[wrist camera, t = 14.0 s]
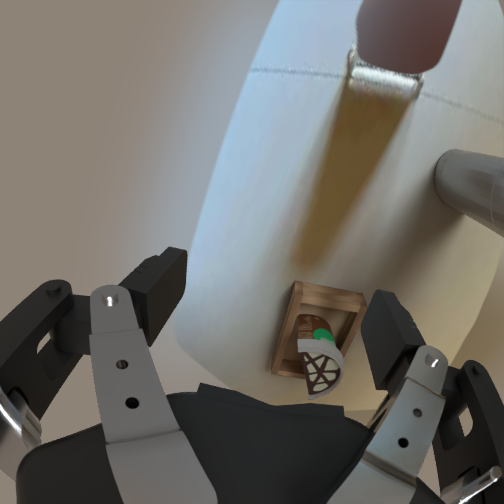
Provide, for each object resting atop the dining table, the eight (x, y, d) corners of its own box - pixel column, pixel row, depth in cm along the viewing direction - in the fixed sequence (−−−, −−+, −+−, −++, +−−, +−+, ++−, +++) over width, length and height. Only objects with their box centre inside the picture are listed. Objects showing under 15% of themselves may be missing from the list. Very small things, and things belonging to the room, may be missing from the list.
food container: (340, 354, 46) (347, 396, 37) (308, 360, 47) (308, 401, 38) (334, 300, 42) (343, 341, 33) (297, 307, 43) (297, 349, 34)
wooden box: (362, 293, 42) (367, 307, 38) (329, 367, 49) (330, 382, 45) (295, 280, 42) (295, 294, 39) (272, 358, 49) (270, 373, 46)
